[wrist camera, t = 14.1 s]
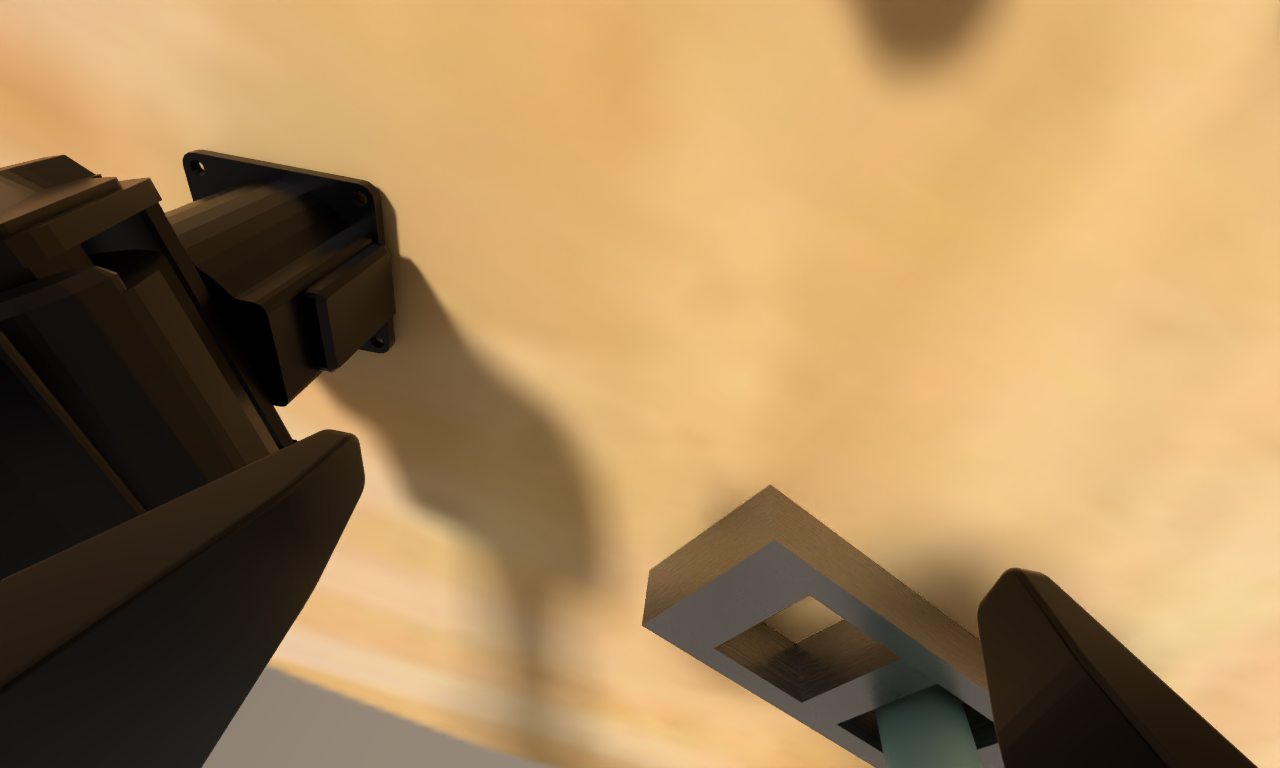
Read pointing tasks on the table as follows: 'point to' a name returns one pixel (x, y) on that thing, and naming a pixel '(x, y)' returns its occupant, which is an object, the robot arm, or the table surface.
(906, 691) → the grey slotted block
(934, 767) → the dowel
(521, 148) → the table surface
